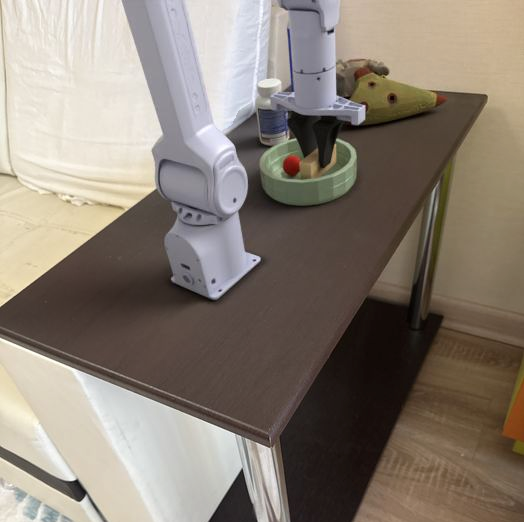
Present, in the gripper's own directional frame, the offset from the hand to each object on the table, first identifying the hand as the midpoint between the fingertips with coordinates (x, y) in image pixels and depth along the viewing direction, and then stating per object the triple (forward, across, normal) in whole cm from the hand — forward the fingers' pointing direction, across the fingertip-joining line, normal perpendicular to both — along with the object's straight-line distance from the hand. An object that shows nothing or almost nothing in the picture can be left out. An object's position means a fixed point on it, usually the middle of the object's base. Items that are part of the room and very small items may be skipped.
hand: (318, 163), depth 79 cm
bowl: (+3, +2, 0) cm, 4 cm away
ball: (+1, +5, 0) cm, 5 cm away
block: (+1, 0, 0) cm, 1 cm away
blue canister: (+4, +19, -24) cm, 31 cm away
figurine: (-2, +9, -24) cm, 26 cm away
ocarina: (+3, 0, -24) cm, 24 cm away
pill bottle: (+4, +16, -10) cm, 19 cm away
